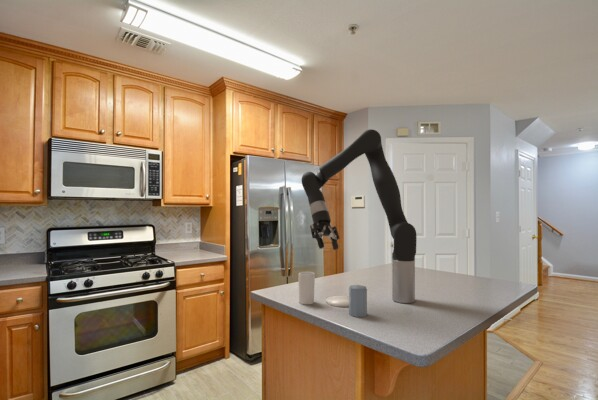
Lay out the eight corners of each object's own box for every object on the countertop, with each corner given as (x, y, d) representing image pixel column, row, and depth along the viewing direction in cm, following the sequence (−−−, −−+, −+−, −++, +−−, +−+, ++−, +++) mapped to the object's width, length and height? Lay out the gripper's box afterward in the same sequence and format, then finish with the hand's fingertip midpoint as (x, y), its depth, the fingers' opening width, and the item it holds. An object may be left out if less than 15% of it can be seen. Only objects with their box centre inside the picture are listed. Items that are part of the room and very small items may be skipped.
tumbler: (355, 310, 124) (355, 284, 124) (369, 314, 120) (369, 286, 120) (346, 314, 119) (346, 287, 120) (360, 318, 115) (360, 289, 116)
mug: (316, 304, 132) (316, 274, 132) (299, 305, 130) (300, 275, 131) (310, 297, 141) (311, 270, 142) (295, 298, 140) (295, 270, 141)
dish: (337, 296, 144) (337, 294, 144) (363, 302, 135) (363, 299, 136) (319, 302, 134) (319, 300, 134) (346, 309, 126) (346, 306, 126)
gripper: (314, 207, 134) (323, 244, 127) (337, 212, 143) (347, 246, 136) (302, 215, 138) (310, 251, 131) (325, 219, 148) (334, 252, 141)
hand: (329, 248), depth 134 cm, fingers open, 8 cm apart
